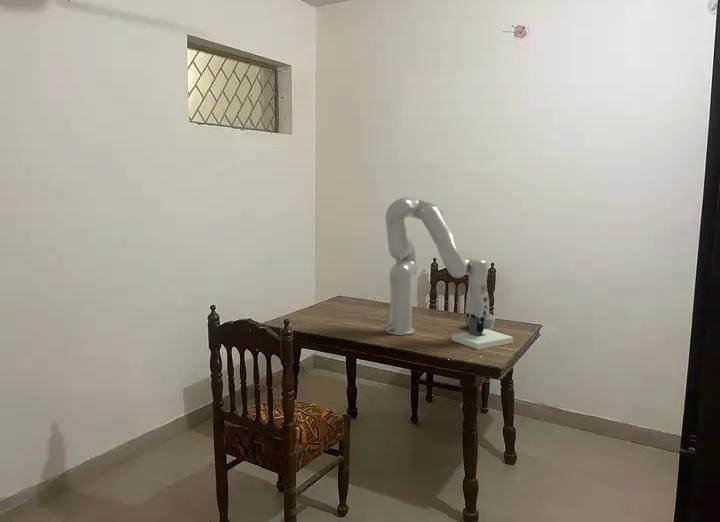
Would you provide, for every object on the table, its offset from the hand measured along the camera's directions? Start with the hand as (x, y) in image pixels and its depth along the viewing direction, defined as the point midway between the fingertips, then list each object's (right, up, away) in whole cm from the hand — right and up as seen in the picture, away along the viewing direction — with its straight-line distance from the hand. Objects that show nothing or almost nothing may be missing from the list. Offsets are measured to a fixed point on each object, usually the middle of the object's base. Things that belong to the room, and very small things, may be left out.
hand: (476, 330), depth 238 cm
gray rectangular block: (0, -3, 0) cm, 3 cm away
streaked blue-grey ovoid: (+5, -2, +18) cm, 19 cm away
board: (+2, -5, -3) cm, 6 cm away
